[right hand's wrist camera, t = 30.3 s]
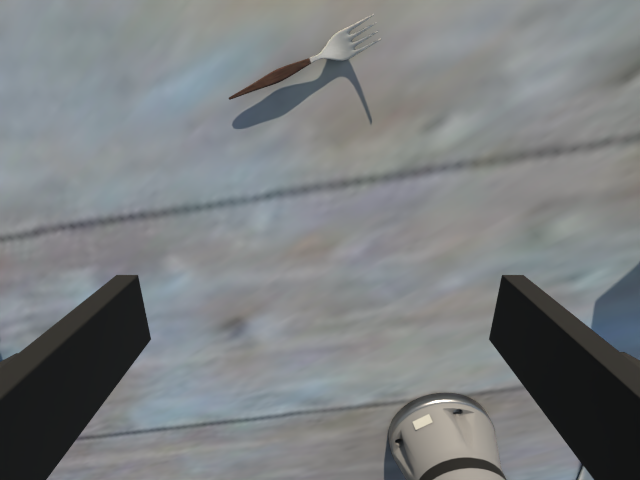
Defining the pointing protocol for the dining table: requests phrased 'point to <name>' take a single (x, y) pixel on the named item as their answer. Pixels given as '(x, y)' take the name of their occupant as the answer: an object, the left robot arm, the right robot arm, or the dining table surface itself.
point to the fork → (317, 57)
